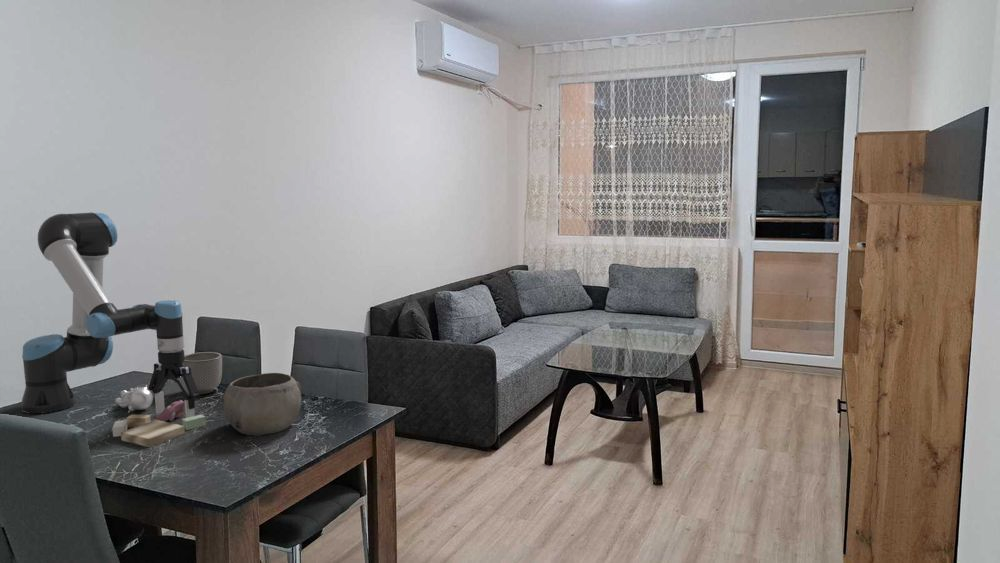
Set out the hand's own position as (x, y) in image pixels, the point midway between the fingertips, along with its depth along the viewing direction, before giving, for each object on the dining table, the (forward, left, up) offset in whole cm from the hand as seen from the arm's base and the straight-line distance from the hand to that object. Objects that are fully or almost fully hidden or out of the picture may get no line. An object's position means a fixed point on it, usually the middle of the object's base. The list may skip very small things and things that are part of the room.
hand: (175, 415), depth 225 cm
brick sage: (+11, -2, -1) cm, 11 cm away
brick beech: (-5, -9, -1) cm, 10 cm away
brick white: (-4, -16, -1) cm, 17 cm away
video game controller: (-1, 0, -2) cm, 2 cm away
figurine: (-21, +2, -2) cm, 21 cm away
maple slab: (+8, -14, -1) cm, 16 cm away
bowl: (+30, +8, -1) cm, 31 cm away
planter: (-16, +25, -1) cm, 30 cm away
